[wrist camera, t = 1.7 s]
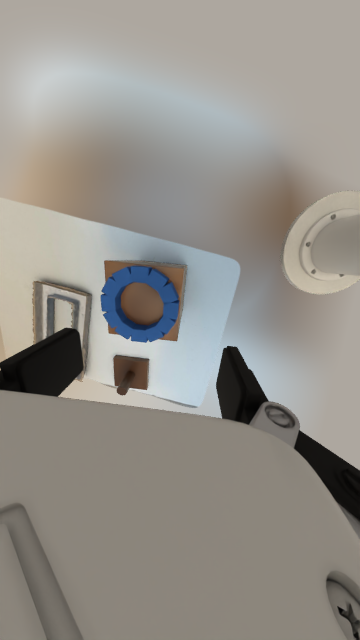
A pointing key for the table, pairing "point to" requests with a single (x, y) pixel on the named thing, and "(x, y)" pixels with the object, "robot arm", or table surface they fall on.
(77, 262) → the table surface
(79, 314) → the picture frame
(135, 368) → the post
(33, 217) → the table surface
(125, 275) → the ring
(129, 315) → the stand
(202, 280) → the table surface
